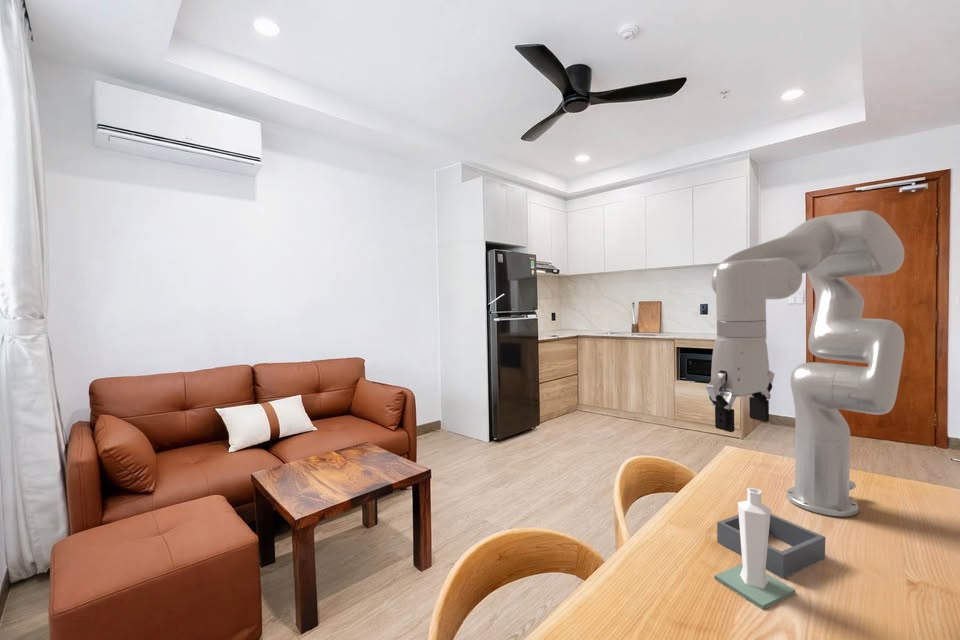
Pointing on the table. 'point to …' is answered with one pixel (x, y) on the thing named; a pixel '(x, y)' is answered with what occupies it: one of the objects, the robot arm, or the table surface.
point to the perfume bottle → (754, 538)
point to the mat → (755, 588)
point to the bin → (791, 560)
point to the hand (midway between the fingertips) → (742, 424)
